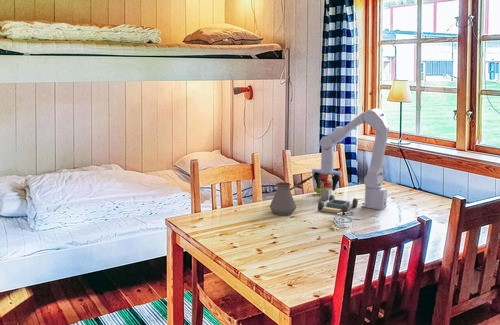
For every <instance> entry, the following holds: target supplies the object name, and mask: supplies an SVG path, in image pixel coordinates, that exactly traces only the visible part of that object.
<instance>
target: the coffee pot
mask: <svg viewBox="0 0 500 325" xmlns="http://www.w3.org/2000/svg"><path fill="white" fill-rule="evenodd" d="M310 179H312V181H315V179H314V177H313V175H311V176H309V177H307V178H306V179H303V180H301V181H300V182H298V183H297V184H296V185H294V186H291V185H292V184H291V183H290V182H284V181H283V182H277V183H275V185H276V191H275V192H274V195H273V198H272V200H271V202H270V205H269V208H270V210H271V211H272V213H273V214H275V215H277V216H288V215H289V216H290V215H292V213H293V212H295V211H296V209H297V205H296V203H295V200H294V198H293V195H292V192H291V191H292V190H294V189H296V188H297V187H299V186H301V185H303V184H304V183H306V182H307V181H310Z"/></svg>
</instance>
